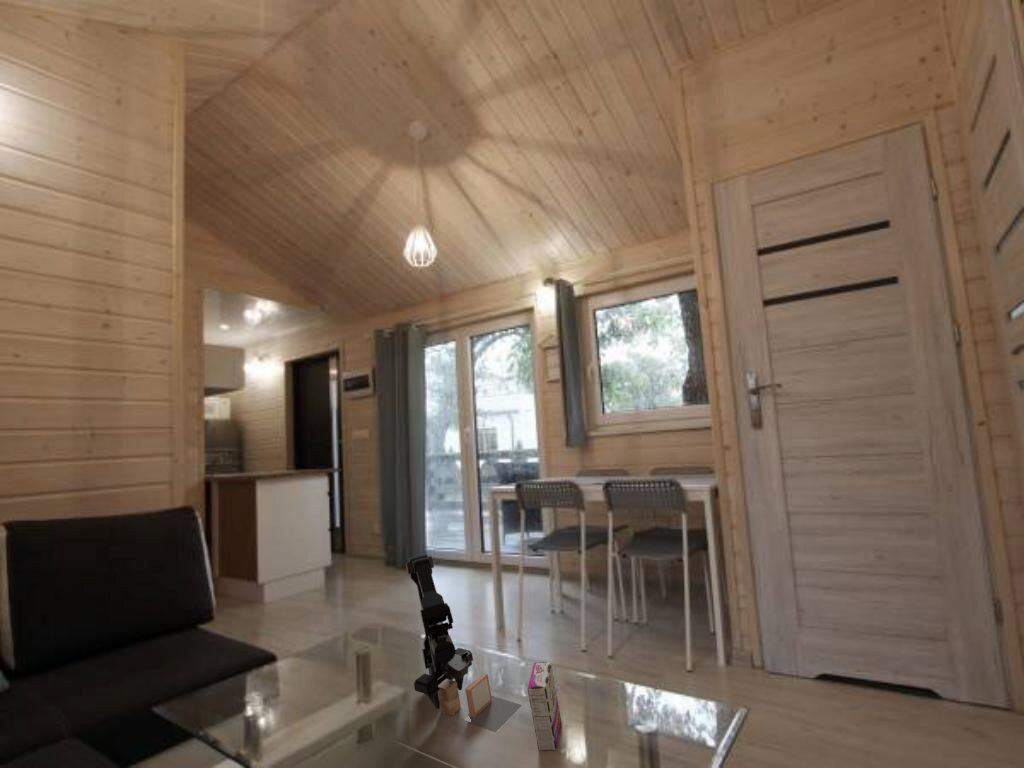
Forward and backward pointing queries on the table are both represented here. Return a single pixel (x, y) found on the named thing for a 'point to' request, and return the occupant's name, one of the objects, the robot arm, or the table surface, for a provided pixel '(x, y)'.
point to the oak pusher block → (449, 697)
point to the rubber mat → (495, 714)
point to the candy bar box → (544, 706)
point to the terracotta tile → (478, 695)
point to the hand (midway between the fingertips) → (449, 698)
